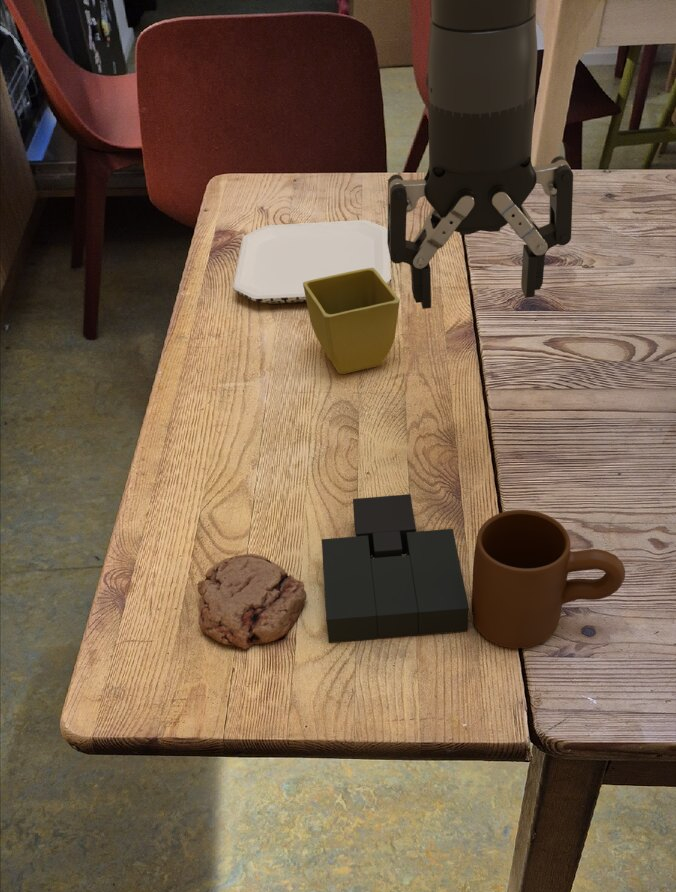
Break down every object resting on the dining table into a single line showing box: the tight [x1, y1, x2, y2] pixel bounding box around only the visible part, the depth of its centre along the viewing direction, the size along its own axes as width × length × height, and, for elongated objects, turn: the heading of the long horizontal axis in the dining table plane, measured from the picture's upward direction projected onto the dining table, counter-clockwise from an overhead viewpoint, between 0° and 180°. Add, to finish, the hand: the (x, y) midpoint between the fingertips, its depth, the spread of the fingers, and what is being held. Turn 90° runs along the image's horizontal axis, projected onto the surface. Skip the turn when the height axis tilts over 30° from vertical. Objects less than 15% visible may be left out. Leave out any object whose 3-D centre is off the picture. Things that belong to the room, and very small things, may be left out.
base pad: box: [321, 528, 470, 644], centre depth 82 cm, size 12×10×3 cm
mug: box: [471, 509, 626, 649], centre depth 76 cm, size 12×8×9 cm, turn 73°
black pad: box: [352, 493, 417, 558], centre depth 86 cm, size 6×8×3 cm
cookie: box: [197, 553, 307, 650], centre depth 82 cm, size 10×11×3 cm
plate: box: [232, 219, 392, 305], centre depth 125 cm, size 21×21×2 cm
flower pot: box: [303, 268, 401, 375], centre depth 107 cm, size 9×9×9 cm
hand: (476, 298), depth 77 cm, fingers open, 8 cm apart
